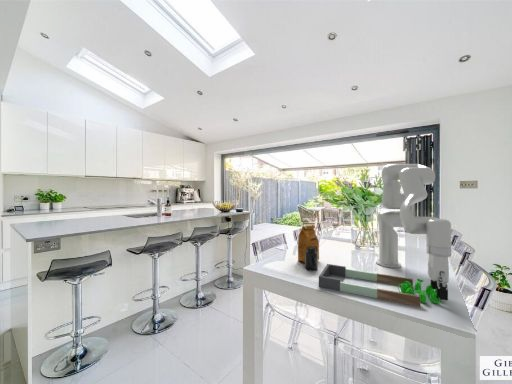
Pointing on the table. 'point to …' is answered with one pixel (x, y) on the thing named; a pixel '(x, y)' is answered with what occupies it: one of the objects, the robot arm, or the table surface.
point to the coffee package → (307, 241)
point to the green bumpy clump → (429, 291)
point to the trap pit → (332, 277)
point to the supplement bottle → (311, 258)
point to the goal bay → (359, 288)
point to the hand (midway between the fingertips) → (438, 294)
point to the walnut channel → (397, 296)
